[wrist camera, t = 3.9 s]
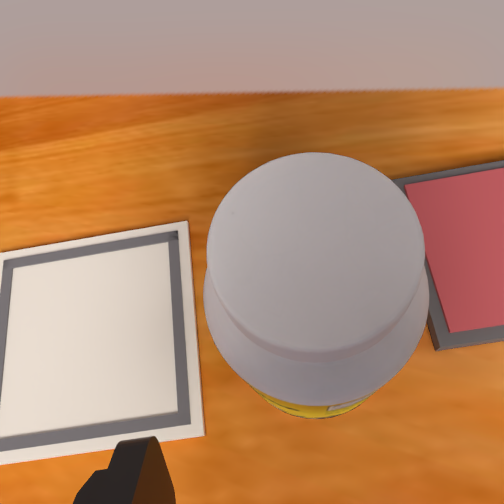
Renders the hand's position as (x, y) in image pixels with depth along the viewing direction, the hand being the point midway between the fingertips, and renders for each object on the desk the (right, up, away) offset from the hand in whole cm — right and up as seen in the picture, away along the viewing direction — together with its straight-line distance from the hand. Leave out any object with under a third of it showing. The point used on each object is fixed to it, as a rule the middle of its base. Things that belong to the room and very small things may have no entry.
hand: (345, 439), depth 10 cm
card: (-9, 0, +12) cm, 15 cm away
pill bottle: (+1, 0, +10) cm, 10 cm away
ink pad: (+9, +4, +11) cm, 15 cm away
